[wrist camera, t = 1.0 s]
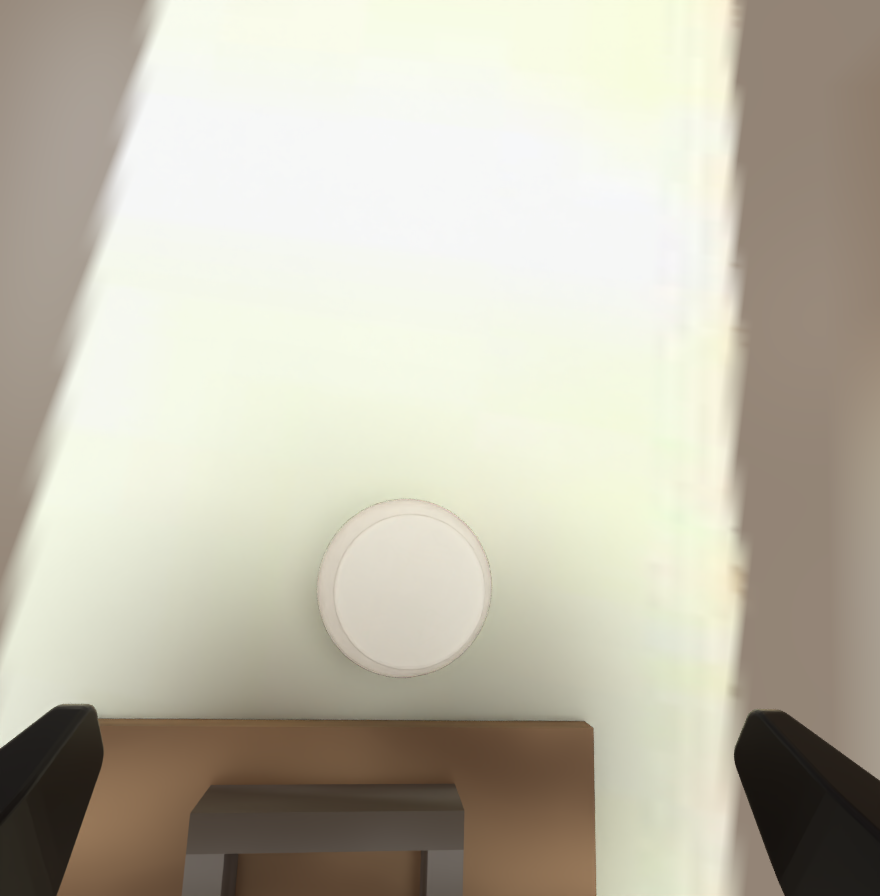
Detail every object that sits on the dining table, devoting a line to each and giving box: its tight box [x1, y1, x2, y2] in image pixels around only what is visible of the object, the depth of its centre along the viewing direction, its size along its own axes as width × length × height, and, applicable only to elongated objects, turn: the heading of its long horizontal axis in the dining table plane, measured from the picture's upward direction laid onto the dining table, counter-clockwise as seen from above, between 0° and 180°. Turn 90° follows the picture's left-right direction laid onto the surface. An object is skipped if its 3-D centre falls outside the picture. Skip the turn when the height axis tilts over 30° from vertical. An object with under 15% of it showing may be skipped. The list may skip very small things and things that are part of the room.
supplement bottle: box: [317, 499, 492, 678], centre depth 20 cm, size 5×5×10 cm
